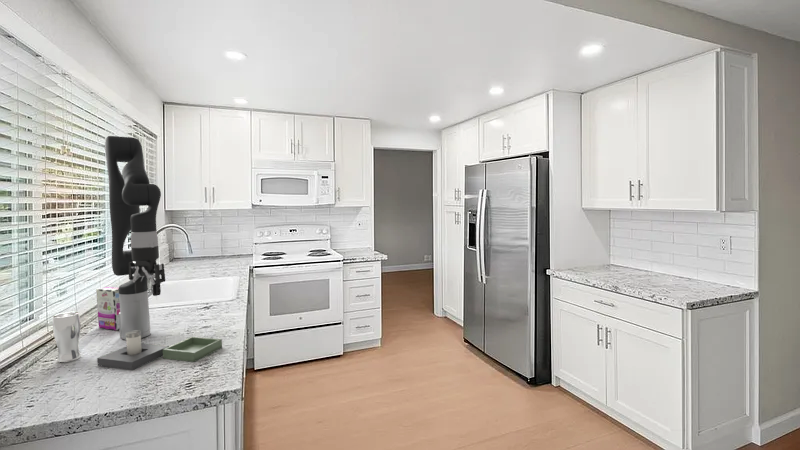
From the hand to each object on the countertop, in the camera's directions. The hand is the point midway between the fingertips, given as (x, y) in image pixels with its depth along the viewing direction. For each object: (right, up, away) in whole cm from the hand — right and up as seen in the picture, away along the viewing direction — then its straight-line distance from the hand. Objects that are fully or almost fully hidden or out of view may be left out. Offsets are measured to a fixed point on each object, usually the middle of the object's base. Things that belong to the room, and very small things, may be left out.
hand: (147, 294), depth 133 cm
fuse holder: (-4, -21, 0) cm, 22 cm away
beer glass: (-26, -22, +1) cm, 34 cm away
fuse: (-4, -21, 0) cm, 22 cm away
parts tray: (+13, -21, +4) cm, 25 cm away
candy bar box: (-35, -20, +33) cm, 52 cm away
